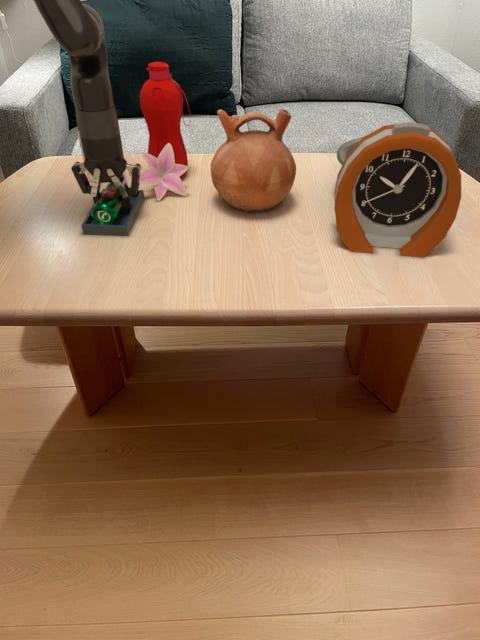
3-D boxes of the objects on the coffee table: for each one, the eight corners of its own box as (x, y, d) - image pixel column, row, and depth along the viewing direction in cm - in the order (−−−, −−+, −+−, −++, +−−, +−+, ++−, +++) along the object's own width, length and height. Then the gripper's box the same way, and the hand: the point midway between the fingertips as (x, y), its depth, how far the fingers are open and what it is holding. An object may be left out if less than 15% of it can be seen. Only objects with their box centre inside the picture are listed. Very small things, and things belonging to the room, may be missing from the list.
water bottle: (192, 183, 113) (184, 69, 96) (147, 182, 113) (132, 68, 97) (196, 167, 120) (190, 58, 103) (153, 166, 120) (141, 57, 104)
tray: (127, 235, 95) (126, 226, 94) (83, 234, 95) (81, 225, 94) (144, 198, 107) (143, 190, 106) (105, 197, 107) (103, 188, 106)
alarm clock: (329, 249, 92) (347, 132, 77) (329, 224, 99) (346, 112, 84) (446, 259, 89) (488, 140, 74) (437, 232, 97) (474, 119, 82)
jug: (211, 222, 99) (207, 125, 86) (212, 184, 113) (209, 95, 100) (297, 220, 100) (307, 125, 87) (288, 183, 113) (295, 95, 100)
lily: (130, 203, 107) (136, 175, 99) (136, 164, 112) (142, 135, 104) (181, 215, 111) (191, 189, 103) (185, 177, 116) (194, 149, 108)
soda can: (119, 214, 93) (134, 188, 102) (96, 201, 91) (112, 175, 100) (109, 233, 96) (124, 205, 105) (86, 220, 94) (103, 193, 103)
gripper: (140, 125, 92) (151, 204, 103) (69, 122, 92) (86, 201, 103) (132, 139, 86) (143, 221, 97) (55, 136, 87) (75, 218, 98)
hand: (114, 210), depth 100 cm, fingers closed on soda can, 5 cm apart
